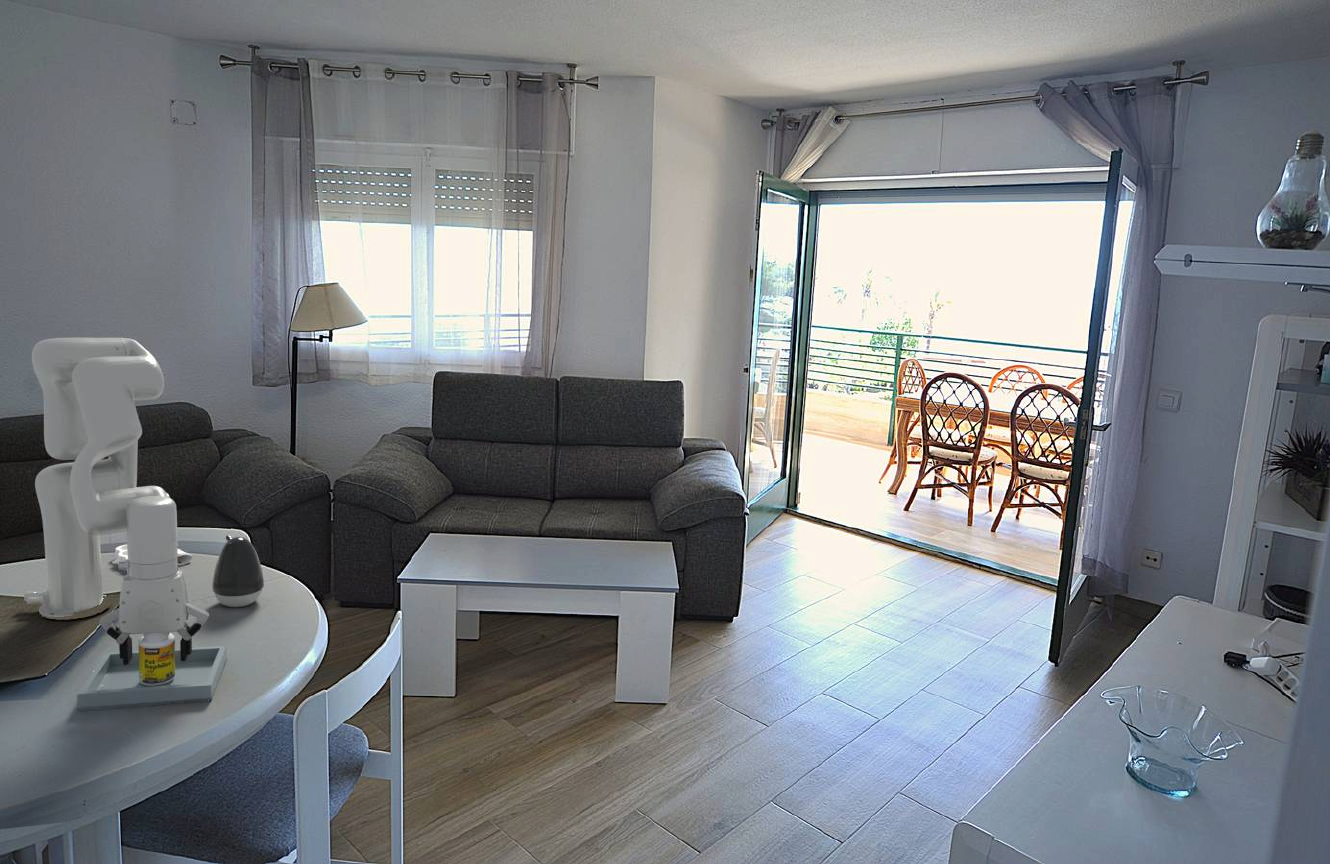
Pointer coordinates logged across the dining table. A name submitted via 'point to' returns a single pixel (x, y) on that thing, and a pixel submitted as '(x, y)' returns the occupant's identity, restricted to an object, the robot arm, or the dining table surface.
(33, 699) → the dining table surface
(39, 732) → the dining table surface
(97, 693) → the tray
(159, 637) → the supplement bottle
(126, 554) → the white multi-hole holder
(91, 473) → the robot arm
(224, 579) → the black egg-shaped figure
